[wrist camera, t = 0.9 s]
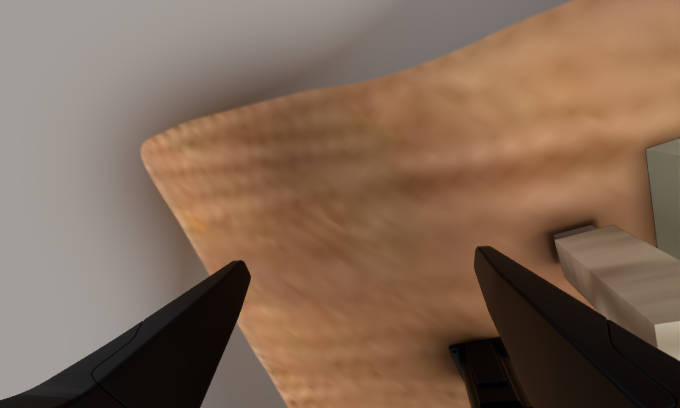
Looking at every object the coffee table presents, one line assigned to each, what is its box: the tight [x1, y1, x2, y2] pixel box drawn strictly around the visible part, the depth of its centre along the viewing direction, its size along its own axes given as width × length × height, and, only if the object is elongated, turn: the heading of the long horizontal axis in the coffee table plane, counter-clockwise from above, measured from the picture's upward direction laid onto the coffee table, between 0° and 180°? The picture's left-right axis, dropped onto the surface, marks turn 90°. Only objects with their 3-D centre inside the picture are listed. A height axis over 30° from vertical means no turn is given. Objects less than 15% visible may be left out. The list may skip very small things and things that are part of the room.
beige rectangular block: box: [553, 225, 680, 361], centre depth 17 cm, size 4×4×10 cm
